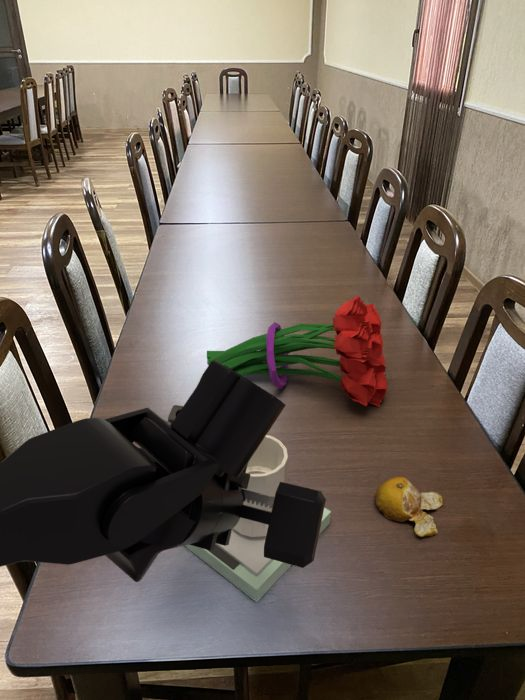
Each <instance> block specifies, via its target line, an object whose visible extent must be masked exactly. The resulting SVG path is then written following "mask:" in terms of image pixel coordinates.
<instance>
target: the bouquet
mask: <svg viewBox="0 0 525 700" xmlns="http://www.w3.org/2000/svg"><path fill="white" fill-rule="evenodd" d="M300 331H307V332H305V333H303V334H300V333H297V332H300ZM327 332H335V333H336V334H335V335H334V337H327V336H322V335H323V334H325V333H327ZM383 340H384V339H383V335H382V321H381V316H380V314H379V312H378V311H377V307H375V304H374V303H369V304H365V303H364V300H362V299H361V297H360V296H359V295H358V294H357V295H356V296H354V297H353V298H352V299H350V300H347V301H345V302H344V303H343V304H342V305H341V306H340V307H338V309H336V312H335V314H334V317H332V323H331V324H330V323H328V324H327V323H299V324H296V325H292V326H289V327H285V328H282V327H281V324H279V323H278V322H276V321H274V322H273V323H272V324H271V325H269V326H268V329H267V332H266V333H264V334H260V335H257V336H253V337H251V338H249V339H246V340H245V341H242V342H241V343H238V344H236V345H234V346H232V347H230V348H228V349H225V350H206V364H207V367H208V366H209V364H210V363H211V361H213V360H216V361H218V362H220V363H221V364H223V365H225V366H227V367H229V368H230V369H232V370H233V371H235V372H237V373H238V374H240V375H241V376H243V377H244V376H246V375H269V376H270V380H271V382H272V384H273V386H274V388H277V389H279V390H283V388H285V386H286V385H287V382H288V376H291V375H292V376H313V377H320V378H325V379H329V380H335V381H339V382H340V383H341V384H340V385H341V386H340V388H341V390H342V391H345V393H346V395H347V397H349V399H351V401H353V402H357V403H359V404H361V405H363V406H365V407H367V406H368V404H370V405H373V406H376V407H379V408H380V406H381V403H383V400H384V399H385V397H386V394H387V388H388V380H387V376H386V360H385V356H384V354H383V350H384V341H383ZM311 349H328V350H330V349H331V350H335V354H336V355H339V356H340V357H339V360H337V359H334V358H330V357H326V356H325V357H324V356H316V355H304V354H291V353H295V352H300V351H305V350H311ZM297 364H302V365H304V366H307V367H310V368H312V369H306V368H305V369H304V368H291V367H290V368H289V366H290V365H297ZM317 364H319V365H326V366H333V367H339V369H340V372H341V373H343V375H342V376H339V375H337V374H335V373H333V372H331V371H330V370H327V369H326V368H323V367H321V366H319V365H317ZM313 369H315V370H313ZM279 375H280V377H279Z"/></svg>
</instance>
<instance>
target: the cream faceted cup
mask: <svg viewBox="0 0 525 700" xmlns="http://www.w3.org/2000/svg"><path fill="white" fill-rule="evenodd" d="M288 455H289V454H288V449H287V447H286V446H285V444H283V442H282V441H281V440H280V439H278V438H276V437H275V436H273V435H269V434H267V435H266V436H265V438H264V439H263V441H262V442H261V444H260V445H259V447H258V448H257V450H256V451H255V453H254V454H253V456H252V457H251V459H250V460H249V462H248V465H247V469H246V473H249V474H251V475H250V479H249V483H248V488H247V489H245V490H249V491H253V492H257V493H261V494H265V495H269V496H273V497H275V493H276V491H277V488H278V486H279V483H280V482H284V483H288V465H289V464H288V462H289V456H288ZM242 489H243V488H242ZM243 504H244V505H247V506H251V507H255V508H259V509H263V510H267V511H271V512H272V508H271V509H270V508H269V505H268V506H267V507H265V503H264V505H263V506H260V503H259V504H258V505H256V501H255V503H254V504H252V501H250V503H247V500H246V501H245V502H243ZM272 507H273V506H272ZM268 526H269V525H267V524H264V523H260V522H256V521H252V520H248V519H245V518H241V517H240V520H239V521H238V523H237V525H236V526H235V527H234V528H233V529H235V530H236V531H237V532H239V533H240V534H242V535H246V536H250V537H262V536H266V535H267V530H268Z"/></svg>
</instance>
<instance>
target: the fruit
mask: <svg viewBox="0 0 525 700" xmlns="http://www.w3.org/2000/svg"><path fill="white" fill-rule="evenodd" d="M373 496H374V501H375V504H376V507H377V508H378V511H379V512H382V513H383V515H384V517H386V518H387V519H388V520H389V521H391V520H393V521H396V522H399V523H404V522H406V521H410V522H414V523H415V526H414V529H413V532H414V534H416V536H417V537H419V538H424V537H433V536H434V535H437V534H438V533H439V531H438V529H437V525H436V524H435V522H434V517H433V516H431V515H430V514H428V513H427V512H425V511H423V510H427V511H429V510H437V509H439V508H441V507H442V506H443V504H444V497H443V496H441V494H439V493H438V492H435V491H428V492H426V491H425V492H420V490H419V489H418V488H417V487H416V486H414V485H413V483H412V482H411V481H410V480H409V479H408V478H407V477H405V476H394V477H390V478H387V479H386V480H384V481H383V482H382V483H380V484H379V486H378V487H377V488H376V491H375V493H374V495H373Z"/></svg>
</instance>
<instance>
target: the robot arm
mask: <svg viewBox="0 0 525 700" xmlns="http://www.w3.org/2000/svg"><path fill="white" fill-rule="evenodd" d="M286 406H287V405H286V403H284V402H283V401H281V399H279V398H278V397H276V396H275V395H274V394H272V393H271V392H269V391H268V390H266V389H264V388H262V387H261V386H260V385H257V384H256V383H254V382H253V381H252V380H249V379H248V378H246V377H244V376H241V375H240V374H238V373H237V372H235V371H233V370H232V369H230V368H229V367H227V366H225V365H223V364H221V363H220V362H218V361H216V360H213V361H211V363H210V364H209V366H208V365H207V367H206V368H205V370H204V372H203V373H202V375H201V376H200V379H199V381H198V383H197V385H196V387H195V388H194V390H193V392H192V393H191V394H190V396H189V397H188V399H187V400H186V402H185V403H184V404H183V405H177V404H174V405H172V407H171V409H170V412H169V414H168V417H167V420H166V419H164V418H163V417H161V416H159V415H158V414H157V413H156V412H155V411H153V410H152V409H151V408H150V407H144V408H141V409H137V410H133V411H129V412H127V413H123V414H119V415H115V416H112V417H108V418H105V419H103V418H99V417H86V418H81V419H78V420H75V421H73V422H70V423H68V424H65V425H62V426H59V427H56V428H54V429H51V430H49V431H46V432H43V433H40V434H38V435H35V436H33V437H30V438H29V439H26V440H25V441H24V442H23V443H21V445H19V447H17V448H16V449H15V450H13V452H12V453H10V454H9V455H8V456H6V457H5V458H4V459H3V460H2V461H1V462H0V568H2V567H5V566H9V565H13V564H17V563H21V562H32V563H44V564H53V565H55V564H56V565H64V566H65V565H67V566H69V565H74V564H78V563H81V562H85V561H89V560H92V559H96V558H100V557H104V556H105V557H106V558H107V559H108V560H110V561H111V562H112V564H114V565H115V566H116V567H118V569H120V570H121V571H122V572H123V573H124V574H126V575H127V576H128V577H129V578H130V579H131V580H132V581H133V582H135V583H139V582H140V581H142V579H143V578H144V577H145V575H146V574H147V572H148V570H149V569H150V567H151V566H152V565H153V563H154V562H155V560H156V559H157V557H158V556H159V555H160V554H161V553H163V552H164V551H168V550H171V549H176V548H180V547H185V546H184V545H188V544H189V545H192V546H196V547H199V548H203V549H206V550H213V549H214V547H215V543H217V544H221V545H224V546H226V545H229V541H230V537H231V532H232V528H234V527H235V526H236V525H237V523H238V521H239V520H240V517H241V518H245V519H248V520H252V521H256V522H260V523H264V524H267V525H269V526H268V530H267V535H266V539H265V544H264V557H265V558H269V559H273V560H276V561H280V562H283V563H287V564H290V565H291V566H295V567H298V568H301V569H304V568H305V567H307V566H309V565H310V564H312V563H313V562H314V561H315V558H316V557H315V556H316V551H317V546H318V542H319V537H320V535H319V532H320V527H321V522H322V517H323V512H324V507H325V508H326V501H327V498H326V497H325V495H324V494H323V492H322V491H321V490H317V489H313V488H310V487H305V486H301V485H297V484H291V483H288V482H287V483H284V482H280V483H279V486H278V488H277V491H276V493H275V497H273V496H269V495H265V494H261V493H257V492H253V491H249V490H245V489H247V488H248V483H249V479H250V475H251V474H249V473H246V469H247V465H248V462H249V460H250V459H251V457H252V456H253V454H254V453H255V451H256V450H257V448H258V447H259V445H260V444H261V442H262V441H263V439H264V438H265V436H266V435H268V433H269V432H270V431H271V429H272V427H273V426H274V424H275V422H276V421H277V419H279V417H280V415H281V414H282V412H283V411H284V409H285V408H286ZM134 443H135V444H134ZM136 445H137V446H136ZM242 488H243V489H242ZM246 500H247V503H250V501H252V504H254V503H255V501H256V505H258V504H259V503H260V506H263V505H264V503H265V507H267V506H268V505H269V508H270V509H271V508H272V512H271V511H267V510H263V509H259V508H255V507H251V506H247V505H244V504H243V502H245V501H246ZM272 506H273V507H272Z"/></svg>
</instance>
